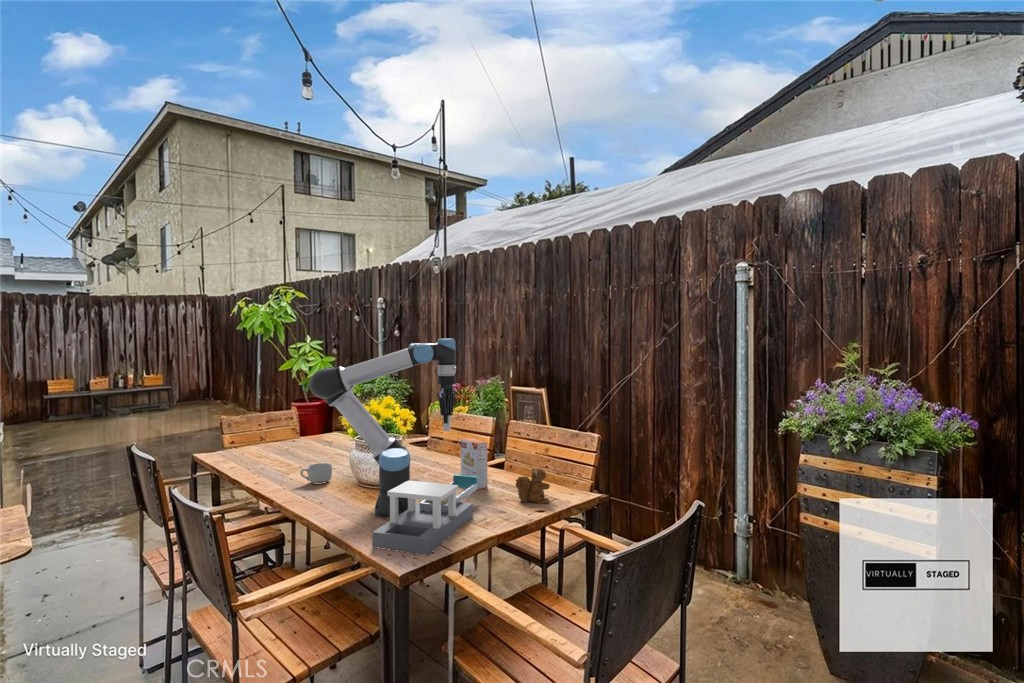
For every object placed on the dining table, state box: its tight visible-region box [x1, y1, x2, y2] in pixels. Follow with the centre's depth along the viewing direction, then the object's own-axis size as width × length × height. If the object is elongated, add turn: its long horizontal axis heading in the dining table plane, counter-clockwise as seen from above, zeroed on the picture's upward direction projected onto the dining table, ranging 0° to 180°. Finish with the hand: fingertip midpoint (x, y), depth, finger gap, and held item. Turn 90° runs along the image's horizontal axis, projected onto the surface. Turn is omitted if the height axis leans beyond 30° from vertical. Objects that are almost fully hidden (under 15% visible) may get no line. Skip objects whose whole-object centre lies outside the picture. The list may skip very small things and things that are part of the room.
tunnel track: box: [371, 480, 474, 556], centre depth 177 cm, size 20×36×16 cm, turn 162°
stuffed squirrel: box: [515, 467, 551, 504], centre depth 210 cm, size 10×14×13 cm
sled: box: [419, 474, 478, 513], centre depth 196 cm, size 11×30×5 cm, turn 162°
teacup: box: [299, 462, 333, 484], centre depth 236 cm, size 14×11×8 cm
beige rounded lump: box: [429, 497, 448, 505], centre depth 187 cm, size 6×6×6 cm
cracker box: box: [460, 437, 488, 490], centre depth 231 cm, size 14×6×21 cm, turn 37°
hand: (446, 430), depth 213 cm, fingers closed
